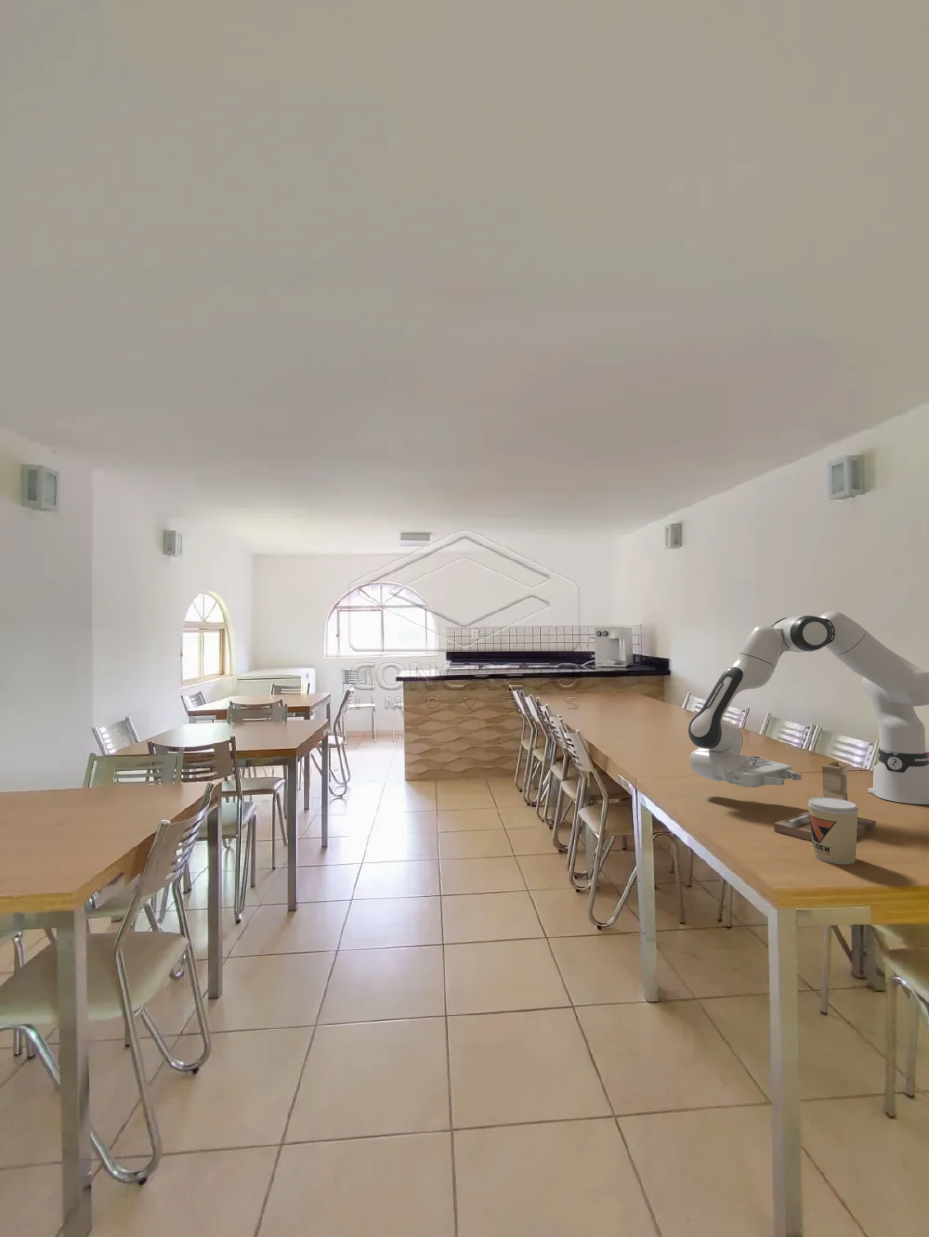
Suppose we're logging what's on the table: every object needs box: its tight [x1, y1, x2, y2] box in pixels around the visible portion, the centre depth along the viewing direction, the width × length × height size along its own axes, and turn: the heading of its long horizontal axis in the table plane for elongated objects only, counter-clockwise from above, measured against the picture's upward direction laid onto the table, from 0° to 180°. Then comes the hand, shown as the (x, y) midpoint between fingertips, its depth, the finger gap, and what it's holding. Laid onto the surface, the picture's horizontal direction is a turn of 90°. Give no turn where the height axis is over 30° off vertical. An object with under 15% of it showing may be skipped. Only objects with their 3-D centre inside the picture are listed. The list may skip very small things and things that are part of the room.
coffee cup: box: [807, 797, 859, 865], centre depth 128 cm, size 9×9×12 cm
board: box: [773, 810, 877, 842], centre depth 146 cm, size 22×14×4 cm, turn 124°
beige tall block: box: [821, 760, 849, 801], centre depth 150 cm, size 4×5×14 cm
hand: (791, 779), depth 159 cm, fingers open, 8 cm apart
